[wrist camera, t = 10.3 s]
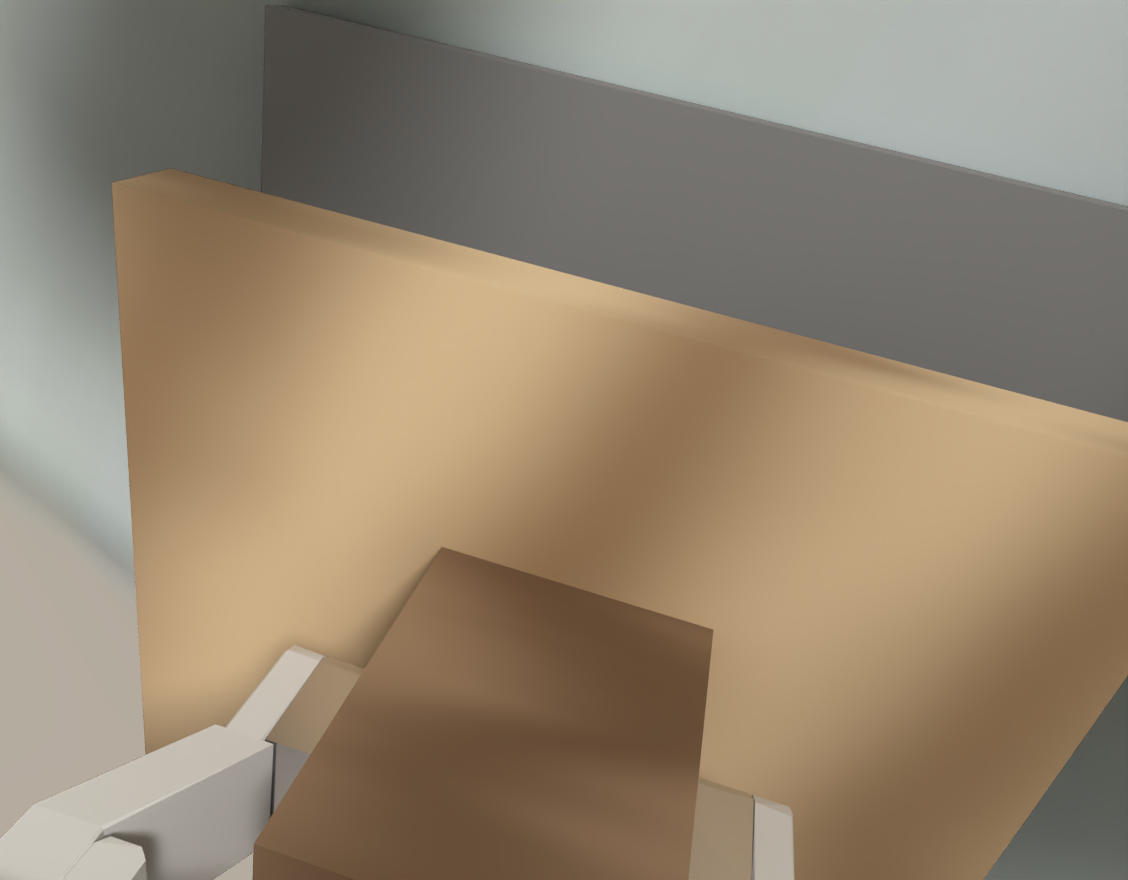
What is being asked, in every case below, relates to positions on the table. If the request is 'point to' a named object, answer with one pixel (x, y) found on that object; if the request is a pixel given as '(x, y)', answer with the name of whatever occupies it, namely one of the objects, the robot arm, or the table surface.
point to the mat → (704, 207)
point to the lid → (594, 557)
